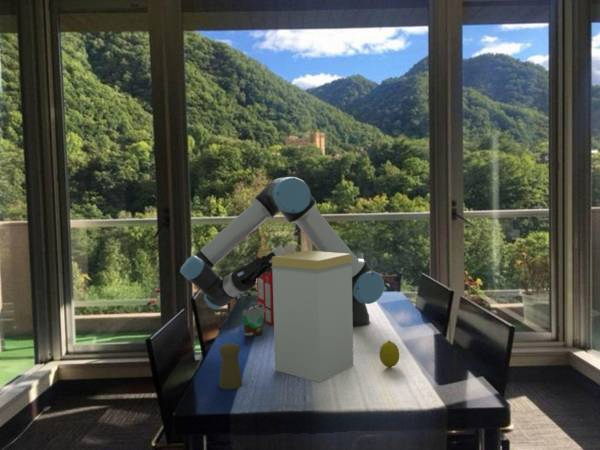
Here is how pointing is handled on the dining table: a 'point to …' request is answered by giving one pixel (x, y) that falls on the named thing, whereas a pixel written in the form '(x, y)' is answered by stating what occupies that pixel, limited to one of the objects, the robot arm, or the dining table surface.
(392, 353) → the lemon
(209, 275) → the robot arm
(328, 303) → the tall white upright box
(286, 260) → the paddle
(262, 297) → the food packaging
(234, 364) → the cork
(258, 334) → the food container
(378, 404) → the dining table surface
